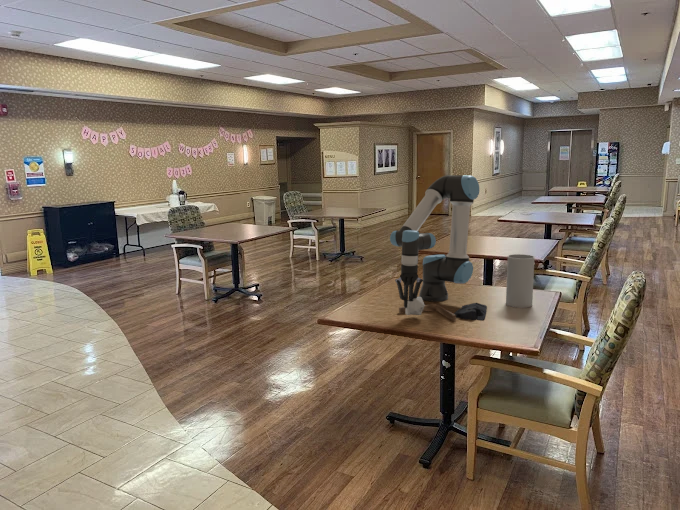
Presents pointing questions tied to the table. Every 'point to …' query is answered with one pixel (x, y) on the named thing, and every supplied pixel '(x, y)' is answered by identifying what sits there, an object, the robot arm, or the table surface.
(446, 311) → the rest corner
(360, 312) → the table surface
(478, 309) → the dark slate chunk
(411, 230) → the robot arm
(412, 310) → the die
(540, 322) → the table surface
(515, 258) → the cylinder vase
